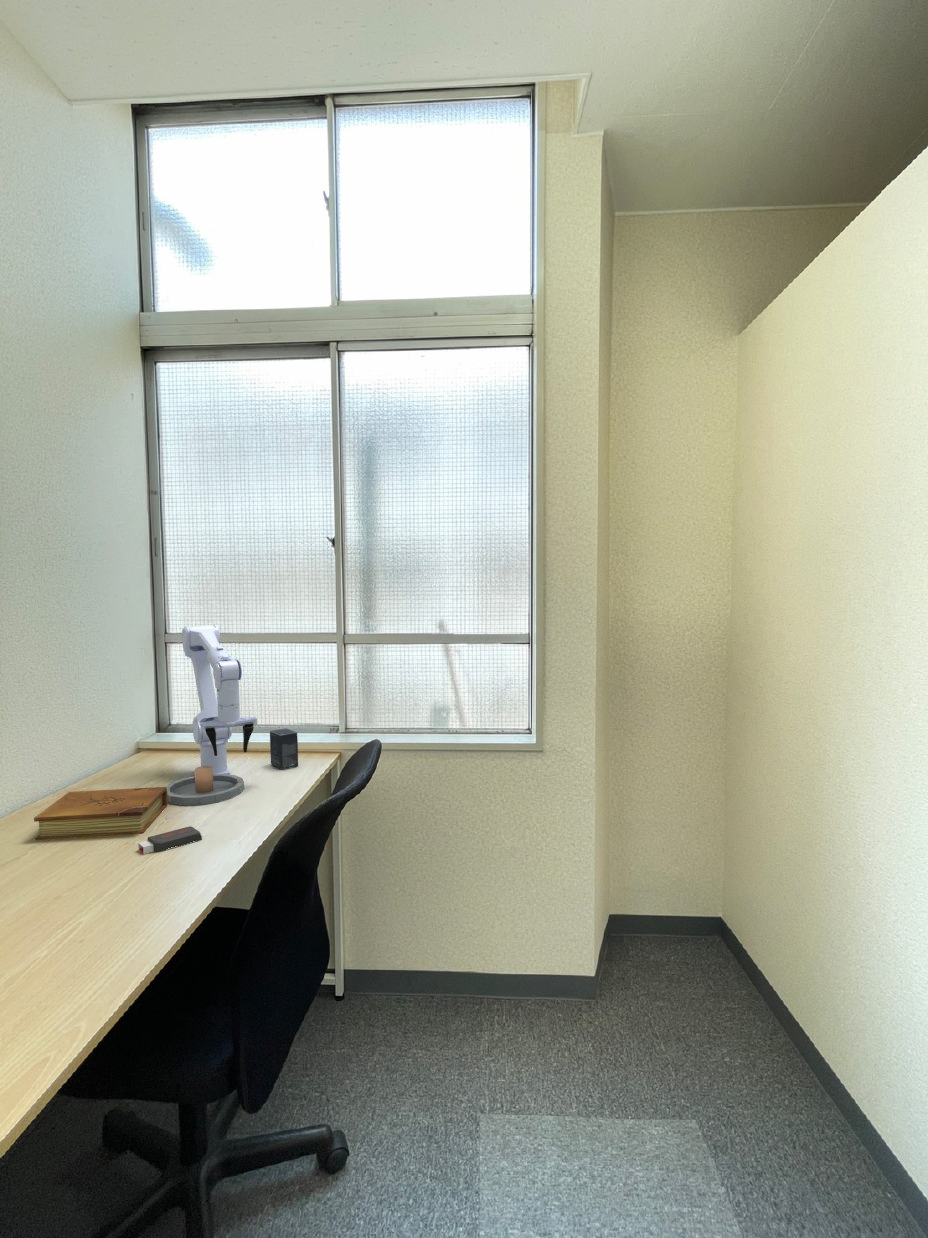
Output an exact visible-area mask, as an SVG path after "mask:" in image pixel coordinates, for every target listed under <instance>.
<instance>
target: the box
mask: <svg viewBox="0 0 928 1238" xmlns="http://www.w3.org/2000/svg"><path fill="white" fill-rule="evenodd" d="M298 740H299V739H298V732H297V731H294V730H292V729H289V728H280V729H273V730H270V731H269V743H270V744H269V747H270V765H271V764H272V766H274V767H276V768H277V769H280V770H286V769H293V768H296V767H295V766H298V767H299V743H298V742H299V741H298Z"/></svg>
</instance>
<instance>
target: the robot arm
mask: <svg viewBox="0 0 928 1238" xmlns="http://www.w3.org/2000/svg"><path fill="white" fill-rule="evenodd" d="M220 631H221V630H220V628H219V626H218V625H217V624H210V625H209V624H208V625H195V626H187V625H185V626H183V628H182V631H181V641H182V642H181V643H182V649H183V653H184V656H185V657H188V659H190V660H191V663H192V667H193V672H194V678H195V683H196V691H197V696H198V702H199V707H200V708H199V709H200V711H199V713H198V714H197V715H196V716H194V718H193V720H192V736H193V739H194V740H193V741H194V742H195V743H196V744H198V745H199V753H200V767H201V766H211V767H213V774H229V775H231V773H230V769H229V767H228V761H227V759H228V758H227V757H228V756H227V755H228V754H227V743H228V742H229V739H231V737H232V734H233V728H236V727H242V734H243V736H242V738H243V742H242V743H243V744H242V750H243V753H247V752H248V745H249V742H250V739H251V736H252V733H253V732H254V729H255V728H254V726H257V725H258V717H257V716H251V717H249V716H247V717H241V711H240V710H241V709H240V708H241V707H240V704H241V703H240V682H239V681H241V679H242V675H243V674H242V673H243V670H242V664H241V661H240V660H239V659H237V658H233V657H232V656H231V655H230V653H229V651H228V650H227V648H226V647H224V646H222V645H220V641H221V632H220ZM215 689H216V691H215Z"/></svg>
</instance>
